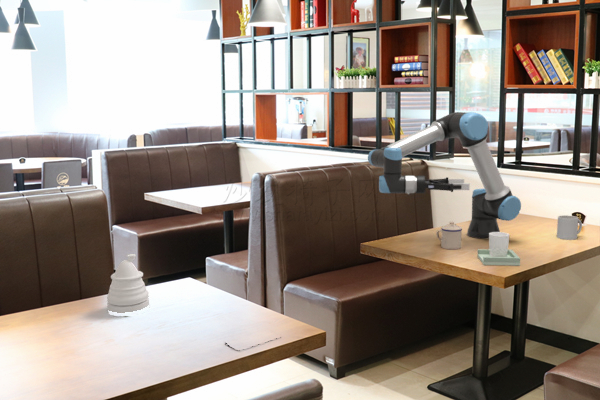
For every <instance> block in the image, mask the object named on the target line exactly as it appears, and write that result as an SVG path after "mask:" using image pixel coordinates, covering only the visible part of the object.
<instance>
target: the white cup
mask: <svg viewBox="0 0 600 400" xmlns="http://www.w3.org/2000/svg"><path fill="white" fill-rule="evenodd" d="M509 242H510V233H508V232H503V231H502V232H501V231H500V232H491V233H489V239H488V249H489V251H490V252H489V256H490V257H507V252H508V250H509Z"/></svg>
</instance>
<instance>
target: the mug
mask: <svg viewBox="0 0 600 400" xmlns="http://www.w3.org/2000/svg"><path fill="white" fill-rule="evenodd" d="M556 225H557V226H556V227H557V228H556V238H557V239H559V238H560V240H566V241H567V240H569V241H572V240H573V241H575V240H577V239H578V235H579V234H580V233H581V232H582V228H583V223H582V221H581V219H579V217H578V216H576V215H575V216H574V215H569V214H568V215H557V224H556Z"/></svg>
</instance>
